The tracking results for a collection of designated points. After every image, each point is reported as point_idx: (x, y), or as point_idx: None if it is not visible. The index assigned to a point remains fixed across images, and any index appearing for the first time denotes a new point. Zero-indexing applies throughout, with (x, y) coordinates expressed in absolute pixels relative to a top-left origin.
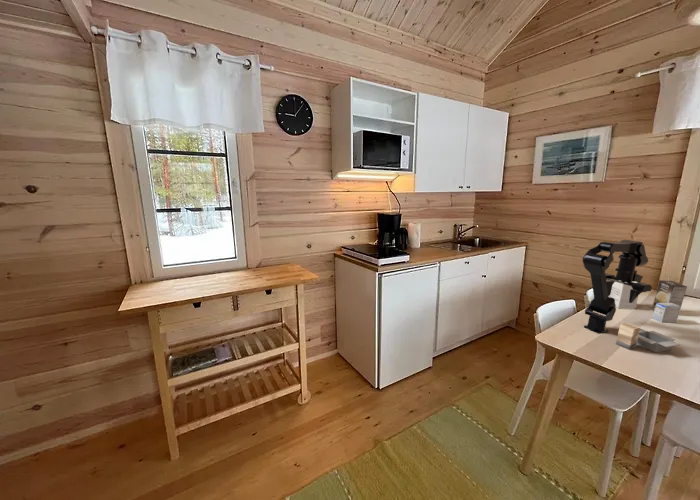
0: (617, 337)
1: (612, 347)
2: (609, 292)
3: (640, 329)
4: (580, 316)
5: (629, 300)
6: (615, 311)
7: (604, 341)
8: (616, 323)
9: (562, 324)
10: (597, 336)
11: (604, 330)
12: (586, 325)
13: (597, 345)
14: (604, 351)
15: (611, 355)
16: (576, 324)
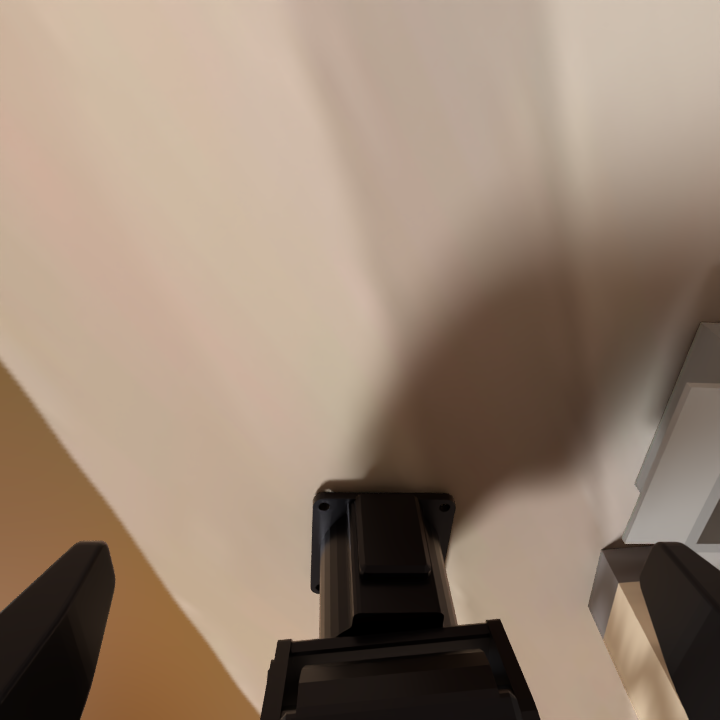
0: (613, 660)
1: (596, 652)
2: (69, 668)
3: (706, 412)
4: (84, 413)
5: (675, 667)
6: (535, 706)
7: (530, 632)
8: (340, 182)
9: (235, 667)
10: (465, 615)
11: (436, 522)
12: (313, 569)
13: (537, 696)
14: (592, 712)
15: (632, 714)
16: (257, 589)
